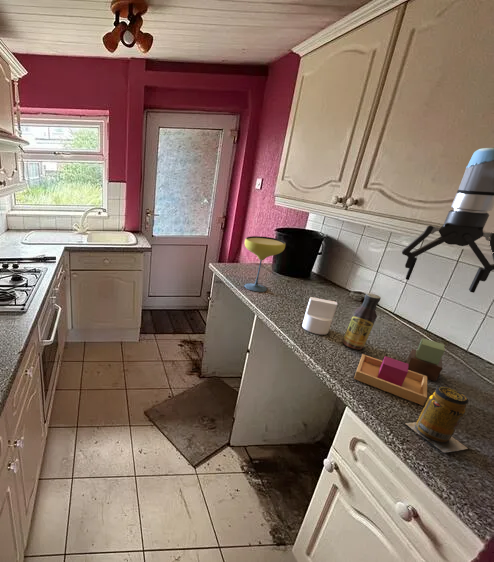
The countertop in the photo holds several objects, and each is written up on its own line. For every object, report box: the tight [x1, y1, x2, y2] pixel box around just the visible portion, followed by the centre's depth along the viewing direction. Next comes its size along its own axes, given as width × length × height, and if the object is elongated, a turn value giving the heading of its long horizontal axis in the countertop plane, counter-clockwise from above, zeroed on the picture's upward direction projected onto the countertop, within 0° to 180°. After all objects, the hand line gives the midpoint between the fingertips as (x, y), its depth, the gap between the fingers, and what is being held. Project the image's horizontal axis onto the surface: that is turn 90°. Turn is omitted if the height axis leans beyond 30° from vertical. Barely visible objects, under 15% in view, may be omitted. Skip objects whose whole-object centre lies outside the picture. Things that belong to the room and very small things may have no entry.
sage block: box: [416, 337, 446, 365], centre depth 96 cm, size 5×5×5 cm
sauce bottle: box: [342, 292, 381, 351], centre depth 107 cm, size 6×6×20 cm
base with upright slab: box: [301, 296, 338, 336], centre depth 120 cm, size 9×9×12 cm
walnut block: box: [405, 348, 443, 382], centre depth 97 cm, size 7×7×5 cm
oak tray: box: [353, 353, 428, 407], centre depth 93 cm, size 16×13×3 cm
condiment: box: [404, 386, 469, 453], centre depth 72 cm, size 7×8×12 cm
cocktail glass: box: [243, 235, 286, 293], centre depth 155 cm, size 18×18×25 cm
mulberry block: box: [377, 355, 409, 386], centre depth 92 cm, size 6×6×6 cm
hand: (437, 284), depth 90 cm, fingers open, 13 cm apart
